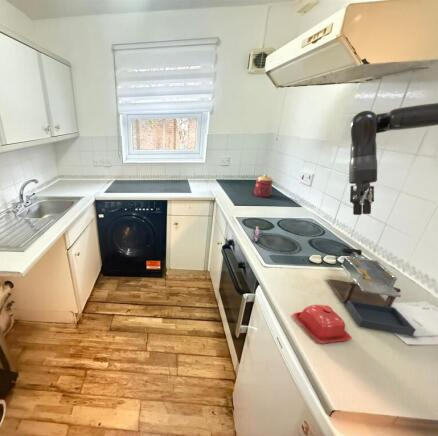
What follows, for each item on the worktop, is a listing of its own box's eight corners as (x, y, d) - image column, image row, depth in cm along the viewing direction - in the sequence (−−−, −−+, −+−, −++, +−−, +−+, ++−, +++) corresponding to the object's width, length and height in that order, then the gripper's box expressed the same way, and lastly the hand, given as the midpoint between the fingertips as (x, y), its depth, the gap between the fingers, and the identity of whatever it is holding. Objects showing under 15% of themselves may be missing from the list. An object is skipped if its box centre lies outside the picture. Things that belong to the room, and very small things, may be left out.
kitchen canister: (262, 198, 192) (266, 176, 185) (250, 194, 203) (253, 173, 196) (273, 196, 197) (278, 175, 190) (261, 192, 208) (264, 172, 201)
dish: (333, 256, 96) (336, 246, 94) (362, 260, 94) (366, 249, 92) (362, 291, 77) (367, 279, 75) (400, 297, 74) (406, 284, 72)
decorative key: (256, 233, 140) (256, 243, 122) (254, 233, 140) (254, 242, 122) (259, 222, 138) (259, 230, 120) (256, 222, 139) (256, 230, 121)
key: (355, 269, 87) (356, 267, 87) (364, 270, 86) (364, 269, 86) (364, 278, 81) (365, 277, 81) (373, 280, 81) (374, 279, 81)
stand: (327, 281, 94) (334, 262, 91) (369, 287, 91) (378, 268, 87) (342, 303, 83) (350, 283, 80) (391, 311, 80) (401, 290, 76)
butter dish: (321, 312, 79) (328, 292, 76) (353, 342, 68) (363, 320, 65) (289, 316, 77) (296, 295, 74) (317, 347, 67) (326, 324, 64)
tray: (392, 313, 79) (395, 307, 78) (412, 336, 70) (415, 329, 69) (345, 305, 82) (347, 300, 81) (359, 326, 74) (362, 320, 73)
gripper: (369, 166, 79) (368, 215, 80) (383, 169, 86) (383, 213, 87) (341, 170, 85) (341, 215, 86) (357, 172, 92) (357, 213, 93)
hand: (362, 214), depth 86 cm, fingers open, 8 cm apart
